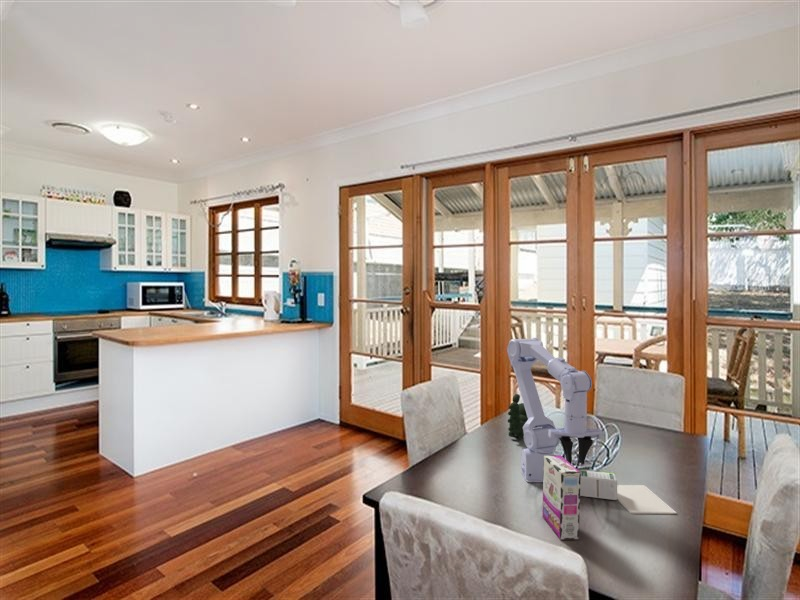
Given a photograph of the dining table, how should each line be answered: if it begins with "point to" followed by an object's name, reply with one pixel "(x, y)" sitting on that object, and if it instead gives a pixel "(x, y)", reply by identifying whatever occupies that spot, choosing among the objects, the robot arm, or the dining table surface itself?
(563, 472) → the candy bar box
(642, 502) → the cream white mat
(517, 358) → the robot arm
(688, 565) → the dining table surface
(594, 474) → the syrup box
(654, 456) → the dining table surface
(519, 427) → the dark green lumpy piece
